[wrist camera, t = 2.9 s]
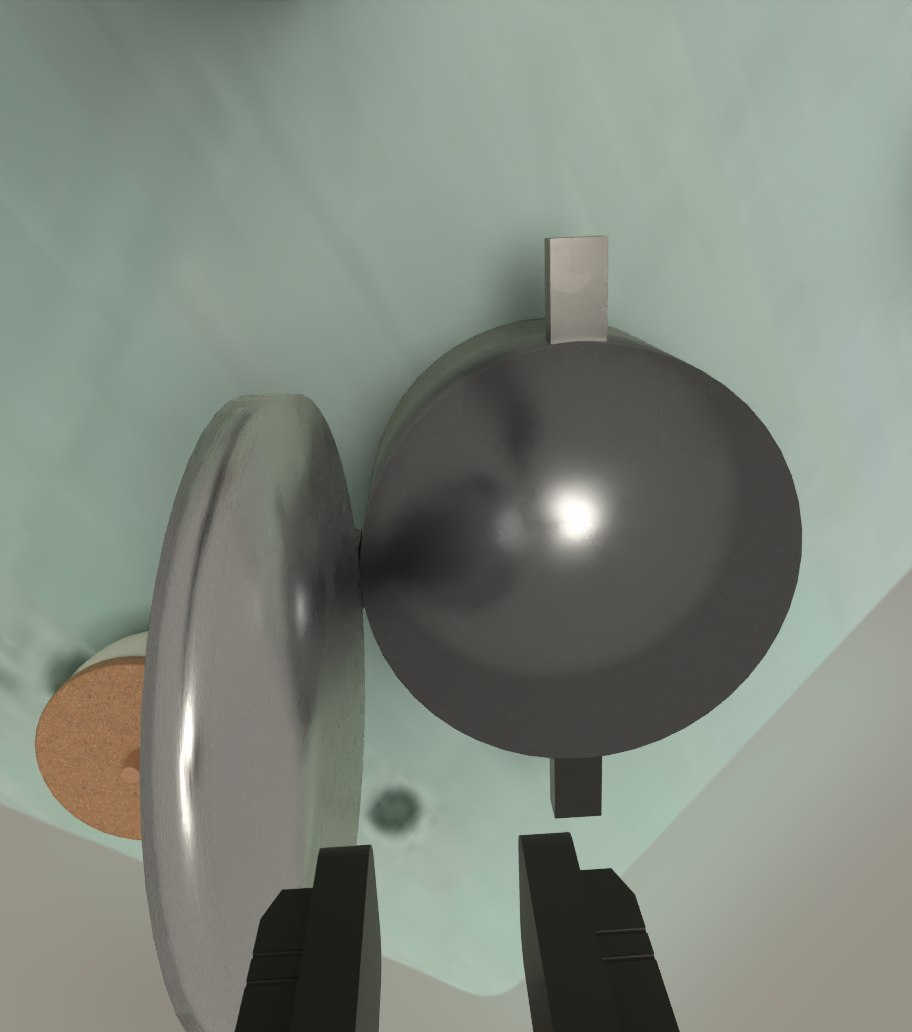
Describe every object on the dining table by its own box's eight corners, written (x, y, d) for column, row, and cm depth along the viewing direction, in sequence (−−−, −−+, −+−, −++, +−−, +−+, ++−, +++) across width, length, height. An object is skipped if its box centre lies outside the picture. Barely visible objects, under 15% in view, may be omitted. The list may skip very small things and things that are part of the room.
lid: (376, 775, 42) (319, 776, 42) (340, 351, 35) (273, 354, 36) (274, 1247, 23) (168, 1246, 23) (152, 504, 16) (7, 508, 16)
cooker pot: (370, 724, 54) (358, 844, 43) (329, 245, 45) (302, 250, 34) (708, 703, 54) (777, 817, 44) (735, 226, 45) (830, 226, 35)
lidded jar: (259, 768, 54) (228, 873, 45) (84, 747, 53) (18, 851, 44) (277, 614, 51) (247, 695, 42) (91, 589, 50) (20, 667, 41)
